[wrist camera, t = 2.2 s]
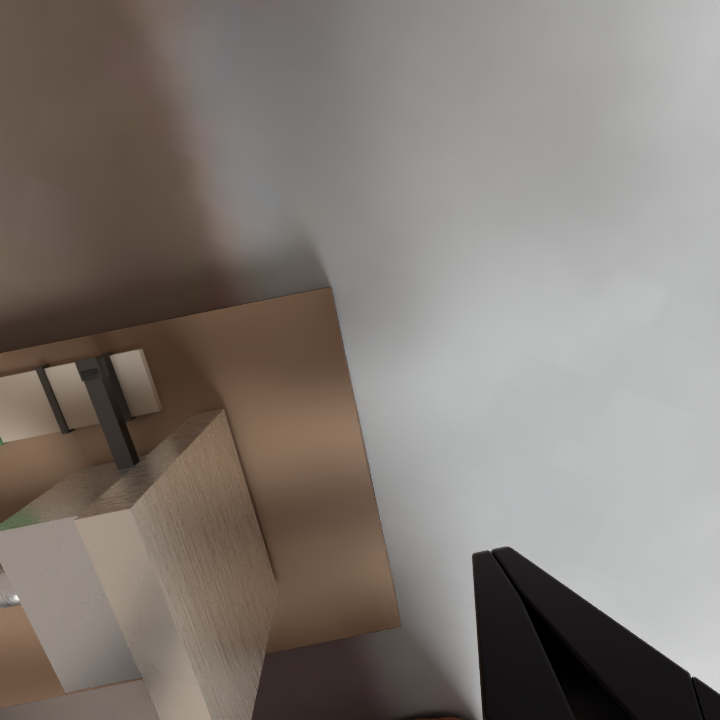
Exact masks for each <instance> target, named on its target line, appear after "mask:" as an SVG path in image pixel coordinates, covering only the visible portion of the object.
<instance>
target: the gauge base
mask: <svg viewBox="0 0 720 720" xmlns="http://www.w3.org/2000/svg"><path fill="white" fill-rule="evenodd" d="M100 355H103V357H104V360H105V363H106V366H107V368H108V371H109V374H110V375H108V376H109V379H110V381H111V384H112V387H113V390H114V392H115V395H116V398H117V400H118V403H119V406H120V409H121V411H122V414H123V417H124V419H125V422H126V425H127V428H128V430H129V433H130V436H131V438H132V441H133V444H134V447H135V449H136V452H137V455H138V457H139V456H144V455H148V454H149V453H150V452H151V451H152V450H154V449H155V448H156V447H157V446H158V445H159V444H160V443H161V442H163V441H164V440H165V439H166V438H167V437H168V436H169V435H171V434H172V433H173V432H174V431H175V430H176V429H177V428H178V427H180V426H181V425H182V424H183V423H184V422H185V421H186V420H187V419H189V418H190V417H191V416H192V415H195V414H200V413H205V412H210V411H215V410H220V409H224V410H225V414H226V417H227V420H228V424H229V427H230V430H231V434H232V437H233V440H234V444H235V447H236V450H237V454H238V457H239V461H240V464H241V467H242V471H243V474H244V477H245V481H246V484H247V487H248V491H249V494H250V497H251V501H252V504H253V507H254V511H255V514H256V517H257V521H258V524H259V527H260V531H261V534H262V537H263V541H264V544H265V548H266V551H267V554H268V558H269V561H270V564H271V568H272V571H273V574H274V578H275V581H276V584H277V588H278V595H277V599H276V604H275V609H274V614H273V618H272V623H271V628H270V633H269V637H268V642H267V647H266V652H265V654H269V653H274V652H279V651H284V650H289V649H294V648H299V647H303V646H308V645H313V644H318V643H323V642H328V641H333V640H338V639H343V638H348V637H353V636H358V635H363V634H367V633H372V632H377V631H382V630H387V629H392V628H397V627H401V623H400V617H399V611H398V605H397V600H396V594H395V589H394V584H393V579H392V574H391V570H390V565H389V560H388V555H387V550H386V546H385V541H384V536H383V531H382V527H381V522H380V517H379V512H378V508H377V503H376V498H375V493H374V488H373V484H372V479H371V474H370V469H369V465H368V460H367V455H366V450H365V445H364V441H363V436H362V431H361V426H360V422H359V417H358V412H357V407H356V402H355V398H354V393H353V388H352V383H351V379H350V374H349V369H348V364H347V360H346V355H345V350H344V345H343V340H342V336H341V331H340V326H339V321H338V317H337V312H336V307H335V302H334V297H333V293H332V288H331V287H326V288H322V289H317V290H312V291H307V292H302V293H297V294H292V295H287V296H282V297H277V298H272V299H267V300H262V301H257V302H252V303H247V304H242V305H237V306H232V307H227V308H222V309H217V310H212V311H207V312H202V313H197V314H192V315H187V316H182V317H177V318H172V319H167V320H162V321H157V322H152V323H147V324H142V325H137V326H132V327H127V328H122V329H117V330H112V331H107V332H102V333H97V334H92V335H87V336H82V337H77V338H72V339H67V340H63V341H58V342H53V343H48V344H43V345H38V346H33V347H28V348H23V349H18V350H13V351H8V352H3V353H0V524H1V523H3V522H4V521H5V520H7V519H8V518H10V517H11V516H13V515H14V514H15V513H17V512H18V511H20V510H21V509H22V508H24V507H25V506H27V505H28V504H30V503H31V502H32V501H34V500H35V499H37V498H38V497H39V496H41V495H42V494H44V493H45V492H46V491H48V490H49V489H51V488H52V487H54V486H55V485H56V484H58V483H59V482H61V481H62V480H63V479H65V478H66V477H68V476H69V475H71V474H72V473H73V472H75V471H76V470H78V469H80V468H85V467H90V466H95V465H100V464H105V463H110V462H115V461H114V458H113V456H112V453H111V451H110V448H109V445H108V443H107V440H106V438H105V435H104V433H103V430H102V427H101V425H100V422H99V420H98V417H97V414H96V412H95V409H94V407H93V404H92V401H91V399H90V396H89V394H88V391H87V389H86V386H85V383H84V382H82V380H81V378H80V375H79V373H78V370H77V368H76V365H75V362H74V361H77V360H81V359H85V358H90V357H95V356H100ZM141 679H142V677H141V678H137V679H132V680H127V681H122V682H117V683H112V684H107V685H102V686H97V687H92V688H87V689H82V690H77V691H73V692H68V693H65V691H64V689H63V687H62V685H61V683H60V681H59V679H58V677H57V675H56V673H55V671H54V669H53V667H52V665H51V663H50V661H49V659H48V657H47V655H46V653H45V651H44V649H43V647H42V645H41V643H40V641H39V639H38V637H37V635H36V633H35V631H34V629H33V627H32V625H31V623H30V621H29V619H28V617H27V615H26V613H25V611H24V609H23V607H22V605H17V606H12V607H7V608H2V609H0V708H3V707H8V706H13V705H18V704H23V703H28V702H33V701H38V700H42V699H47V698H52V697H57V696H62V695H67V694H72V693H77V692H82V691H87V690H92V689H97V688H102V687H106V686H111V685H116V684H121V683H126V682H131V681H136V680H141Z"/></svg>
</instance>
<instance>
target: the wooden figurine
mask: <svg viewBox="0 0 720 720" xmlns="http://www.w3.org/2000/svg"><path fill="white" fill-rule="evenodd" d="M413 720H464V719H461V718H456V717H441V718H434V719H422V718H420V719H413Z"/></svg>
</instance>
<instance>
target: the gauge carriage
mask: <svg viewBox="0 0 720 720" xmlns="http://www.w3.org/2000/svg"><path fill="white" fill-rule="evenodd" d="M74 362H75V365H76V368H77V370H78V373H79V375H80V378H81V380H82V382H84V383H85V386H86V389H87V391H88V394H89V396H90V399H91V401H92V404H93V407H94V409H95V412H96V414H97V417H98V420H99V422H100V425H101V427H102V430H103V433H104V435H105V438H106V440H107V443H108V445H109V448H110V451H111V453H112V456H113V458H114V461H115V462H110V463H105V464H100V465H95V466H90V467H85V468H80V469H78V470H76V471H75V472H73V473H72V474H71V475H69V476H68V477H66V478H65V479H63V480H62V481H61V482H59V483H58V484H56V485H55V486H54V487H52V488H51V489H49V490H48V491H46V492H45V493H44V494H42V495H41V496H39V497H38V498H37V499H35V500H34V501H32V502H31V503H30V504H28V505H27V506H25V507H24V508H22V509H21V510H20V511H18V512H17V513H15V514H14V515H13V516H11V517H10V518H8V519H7V520H5V521H4V522H3V523H1V524H0V609H2V608H7V607H12V606H17V605H22V607H23V609H24V611H25V613H26V615H27V617H28V619H29V621H30V623H31V625H32V627H33V629H34V631H35V633H36V635H37V637H38V639H39V641H40V643H41V645H42V647H43V649H44V651H45V653H46V655H47V657H48V659H49V661H50V663H51V665H52V667H53V669H54V671H55V673H56V675H57V677H58V679H59V681H60V683H61V685H62V687H63V689H64V691H65V693H68V692H73V691H77V690H82V689H87V688H92V687H97V686H102V685H107V684H112V683H117V682H122V681H127V680H132V679H137V678H141V677H142V679H143V681H144V683H145V686H146V688H147V690H148V693H149V695H150V697H151V700H152V702H153V704H154V707H155V709H156V711H157V714H158V716H159V718H160V720H251V718H252V713H253V709H254V704H255V699H256V694H257V690H258V685H259V680H260V675H261V671H262V666H263V661H264V656H265V652H266V647H267V642H268V637H269V633H270V628H271V623H272V618H273V614H274V609H275V604H276V599H277V595H278V588H277V584H276V581H275V578H274V574H273V571H272V568H271V564H270V561H269V558H268V554H267V551H266V548H265V544H264V541H263V537H262V534H261V531H260V527H259V524H258V521H257V517H256V514H255V511H254V507H253V504H252V501H251V497H250V494H249V491H248V487H247V484H246V481H245V477H244V474H243V471H242V467H241V464H240V461H239V457H238V454H237V450H236V447H235V444H234V440H233V437H232V434H231V430H230V427H229V424H228V420H227V417H226V414H225V410H224V409H220V410H215V411H210V412H205V413H200V414H195V415H192V416H191V417H190V418H189V419H187V420H186V421H185V422H184V423H183V424H182V425H181V426H180V427H178V428H177V429H176V430H175V431H174V432H173V433H172V434H171V435H169V436H168V437H167V438H166V439H165V440H164V441H163V442H161V443H160V444H159V445H158V446H157V447H156V448H155V449H154V450H152V451H151V452H150V453H149V454H148V455H144V456H139V457H138V455H137V452H136V449H135V447H134V444H133V441H132V438H131V436H130V433H129V430H128V428H127V425H126V422H125V419H124V417H123V414H122V411H121V409H120V406H119V403H118V400H117V398H116V395H115V392H114V390H113V387H112V384H111V381H110V379H109V376H108V375H110V374H109V371H108V368H107V366H106V363H105V360H104V357H103V355H100V356H95V357H90V358H85V359H81V360H77V361H74Z"/></svg>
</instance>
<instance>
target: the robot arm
mask: <svg viewBox="0 0 720 720" xmlns="http://www.w3.org/2000/svg"><path fill="white" fill-rule="evenodd" d="M472 564H473V579H474V594H475V609H476V624H477V639H478V654H479V670H480V685H481V700H482V715H483V720H720V694H719V693H717V692H716V691H715V690H713V689H712V688H710V687H709V686H708V685H706V684H705V683H703V682H702V681H700V680H699V679H698V678H696V677H692V678H691V676H690V674H689V672H687V671H686V670H684V669H683V668H682V667H680V666H679V665H677V664H676V663H674V662H673V661H672V660H670V659H669V658H667V657H666V656H665V655H663V654H662V653H660V652H659V651H657V650H656V649H655V648H653V647H652V646H650V645H649V644H647V643H646V642H645V641H643V640H642V639H640V638H639V637H637V636H636V635H635V634H633V633H632V632H630V631H629V630H628V629H626V628H625V627H623V626H622V625H620V624H619V623H618V622H616V621H615V620H613V619H612V618H610V617H609V616H608V615H606V614H605V613H603V612H602V611H600V610H599V609H598V608H596V607H595V606H593V605H592V604H591V603H589V602H588V601H586V600H585V599H583V598H582V597H581V596H579V595H578V594H576V593H575V592H573V591H572V590H571V589H569V588H568V587H566V586H565V585H563V584H562V583H561V582H559V581H558V580H556V579H555V578H554V577H552V576H551V575H549V574H548V573H546V572H545V571H544V570H542V569H541V568H539V567H538V566H536V565H535V564H534V563H532V562H531V561H529V560H528V559H526V558H525V557H524V556H522V555H521V554H519V553H518V552H517V551H515V550H514V549H512V548H511V547H501V548H496V549H493V550H492V551H491V552H490V551H488V550H487V551H482V552H477V553H473V555H472Z"/></svg>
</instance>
